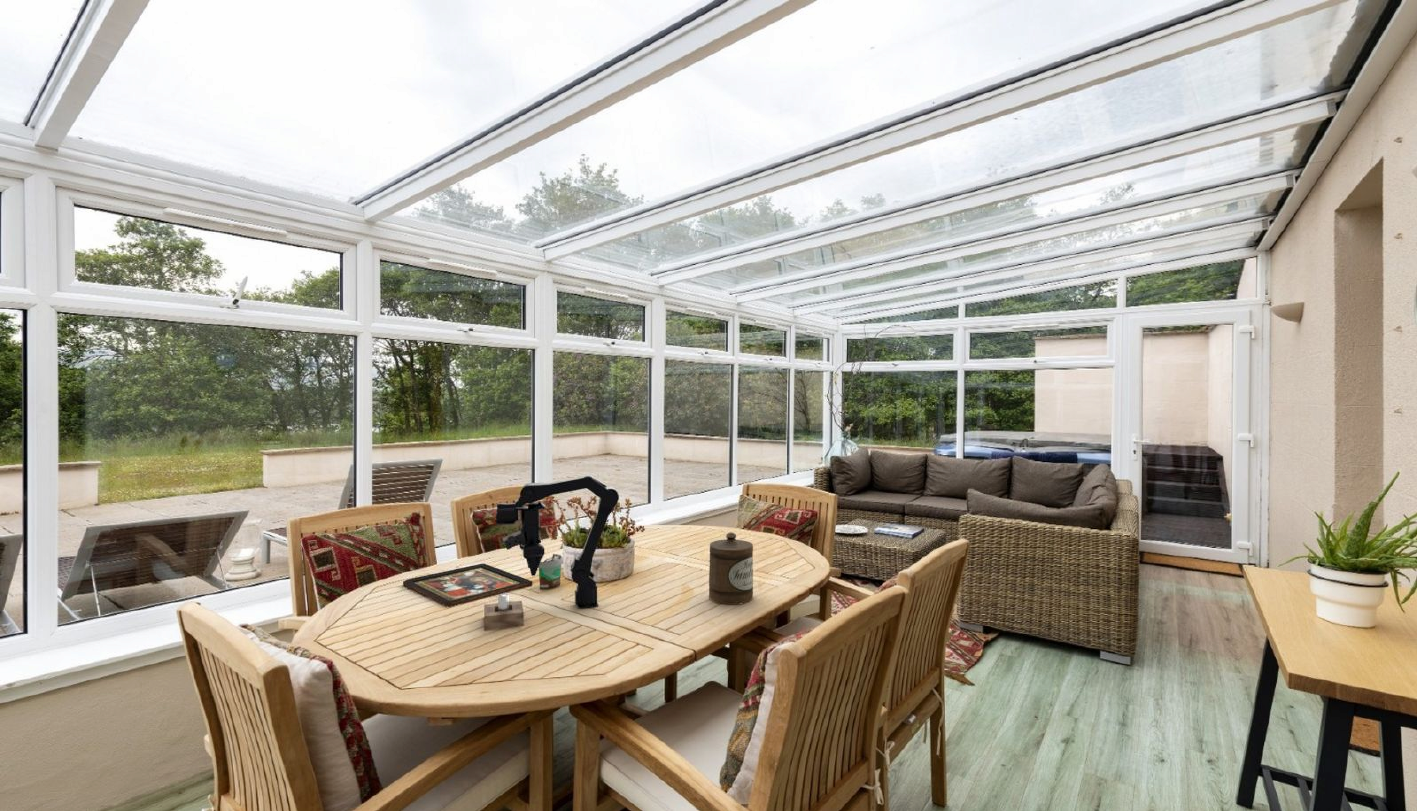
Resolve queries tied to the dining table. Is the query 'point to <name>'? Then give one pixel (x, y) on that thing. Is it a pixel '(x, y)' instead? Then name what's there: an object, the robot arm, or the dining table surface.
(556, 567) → the food container
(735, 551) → the wooden container
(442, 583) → the framed icon painting
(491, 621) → the square hollow frame
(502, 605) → the cylinder
